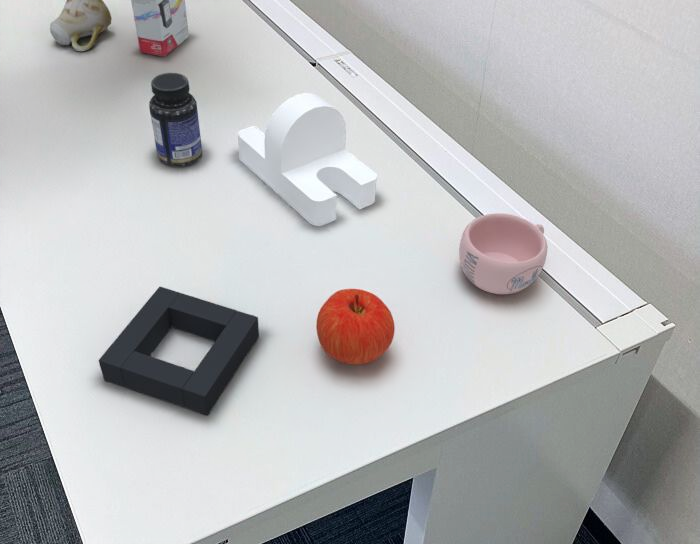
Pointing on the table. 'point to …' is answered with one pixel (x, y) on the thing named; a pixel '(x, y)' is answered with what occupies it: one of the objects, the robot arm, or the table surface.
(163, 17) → the ink box
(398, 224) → the table surface
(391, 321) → the apple
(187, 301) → the socket pad
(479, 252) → the mug
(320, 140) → the bracket
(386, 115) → the table surface
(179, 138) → the pill bottle
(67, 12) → the mug
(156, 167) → the table surface
